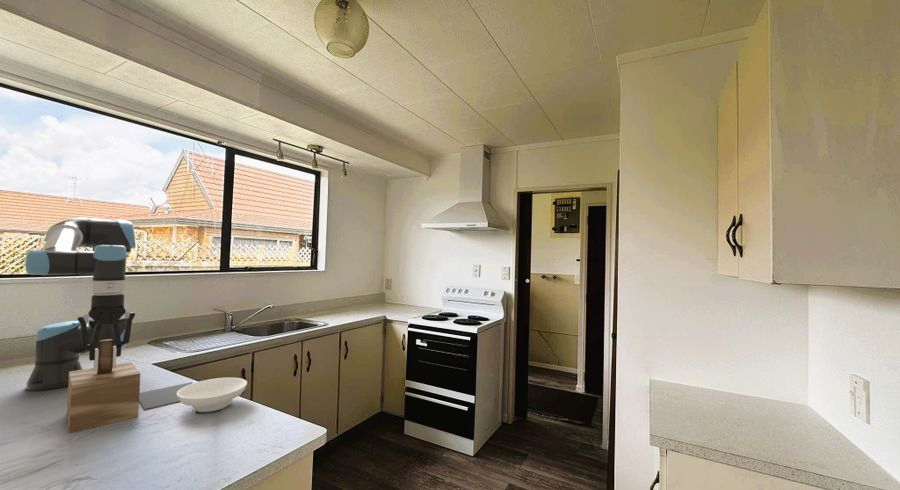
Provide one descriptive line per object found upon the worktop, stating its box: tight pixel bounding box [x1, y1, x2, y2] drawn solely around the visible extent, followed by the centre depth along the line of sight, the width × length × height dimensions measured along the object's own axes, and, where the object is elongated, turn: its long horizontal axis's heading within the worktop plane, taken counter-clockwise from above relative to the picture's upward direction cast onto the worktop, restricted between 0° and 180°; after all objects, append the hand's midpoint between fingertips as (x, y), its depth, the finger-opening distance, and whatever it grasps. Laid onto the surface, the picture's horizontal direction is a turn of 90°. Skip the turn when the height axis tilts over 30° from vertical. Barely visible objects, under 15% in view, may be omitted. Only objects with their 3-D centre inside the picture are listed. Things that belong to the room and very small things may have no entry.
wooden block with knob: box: [66, 339, 141, 434], centre depth 113 cm, size 18×15×23 cm
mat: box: [139, 381, 194, 411], centre depth 129 cm, size 19×17×1 cm
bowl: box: [177, 377, 248, 413], centre depth 119 cm, size 20×20×7 cm
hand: (104, 368), depth 113 cm, fingers closed on wooden block with knob, 3 cm apart
